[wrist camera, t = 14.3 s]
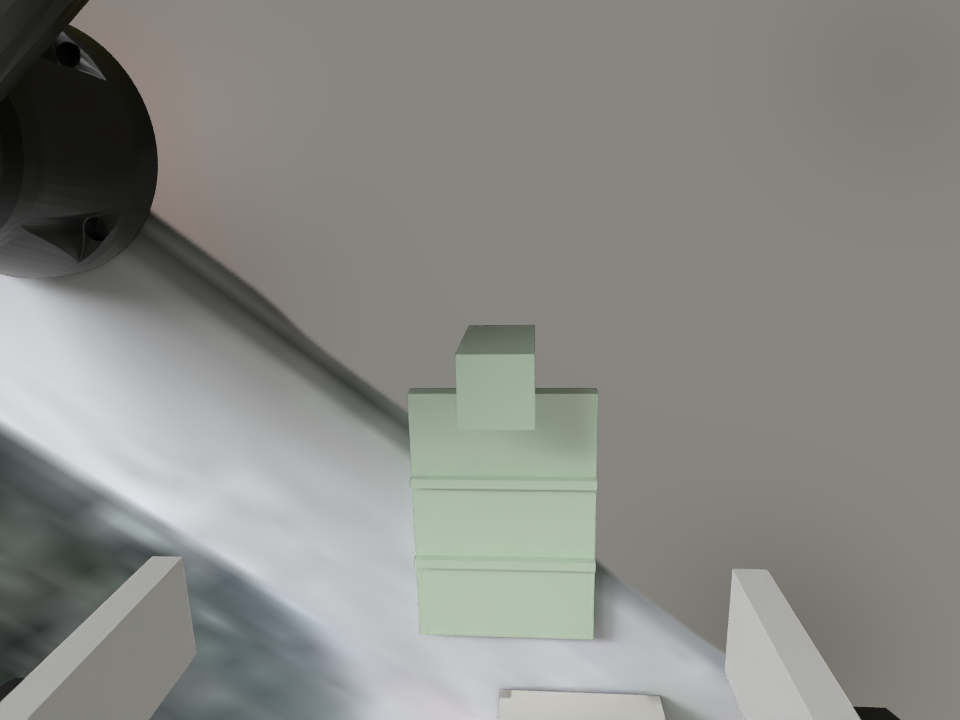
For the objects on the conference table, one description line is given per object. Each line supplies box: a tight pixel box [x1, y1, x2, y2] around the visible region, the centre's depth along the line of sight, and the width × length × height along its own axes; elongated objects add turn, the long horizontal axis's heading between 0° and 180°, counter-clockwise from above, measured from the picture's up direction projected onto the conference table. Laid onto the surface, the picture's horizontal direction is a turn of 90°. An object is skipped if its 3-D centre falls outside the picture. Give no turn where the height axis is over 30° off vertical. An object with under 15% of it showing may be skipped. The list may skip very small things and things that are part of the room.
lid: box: [407, 325, 598, 640], centre depth 39 cm, size 12×21×8 cm, turn 1°
